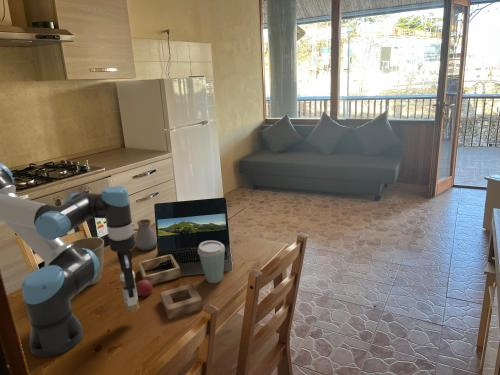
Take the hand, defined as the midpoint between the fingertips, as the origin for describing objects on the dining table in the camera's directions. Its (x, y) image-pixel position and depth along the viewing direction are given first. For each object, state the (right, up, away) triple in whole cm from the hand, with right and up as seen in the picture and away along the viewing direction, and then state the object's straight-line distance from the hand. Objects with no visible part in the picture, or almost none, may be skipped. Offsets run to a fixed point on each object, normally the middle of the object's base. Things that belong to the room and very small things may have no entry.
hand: (131, 300), depth 127 cm
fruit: (+1, -3, +17) cm, 17 cm away
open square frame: (+2, +2, +31) cm, 31 cm away
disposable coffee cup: (+25, +1, +24) cm, 35 cm away
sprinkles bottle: (0, -3, +1) cm, 3 cm away
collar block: (+15, -4, +9) cm, 18 cm away
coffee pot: (-13, +8, +53) cm, 55 cm away
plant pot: (-25, -1, +29) cm, 38 cm away
